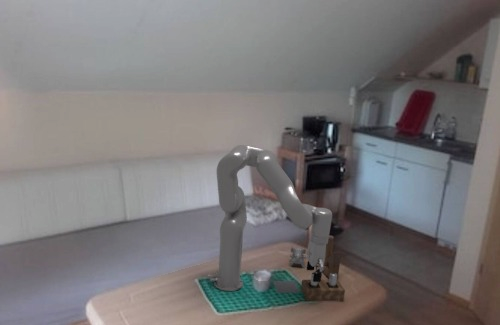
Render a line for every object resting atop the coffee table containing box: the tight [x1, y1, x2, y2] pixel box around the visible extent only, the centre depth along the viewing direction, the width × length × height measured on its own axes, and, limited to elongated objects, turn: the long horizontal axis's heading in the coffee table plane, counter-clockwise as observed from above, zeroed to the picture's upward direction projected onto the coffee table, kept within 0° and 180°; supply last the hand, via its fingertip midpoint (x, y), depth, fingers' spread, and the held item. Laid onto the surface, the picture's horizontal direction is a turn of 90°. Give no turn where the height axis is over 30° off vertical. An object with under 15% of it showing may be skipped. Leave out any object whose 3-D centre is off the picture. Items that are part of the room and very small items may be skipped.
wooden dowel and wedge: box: [322, 234, 342, 281], centre depth 205 cm, size 4×11×18 cm, turn 18°
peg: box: [310, 272, 318, 288], centre depth 187 cm, size 3×3×10 cm
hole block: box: [300, 279, 346, 302], centre depth 188 cm, size 16×9×5 cm, turn 98°
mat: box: [272, 280, 301, 294], centre depth 193 cm, size 10×10×1 cm
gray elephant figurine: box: [288, 246, 307, 269], centre depth 216 cm, size 9×12×8 cm
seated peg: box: [328, 273, 337, 288], centre depth 188 cm, size 3×3×10 cm
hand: (313, 275), depth 186 cm, fingers open, 9 cm apart
